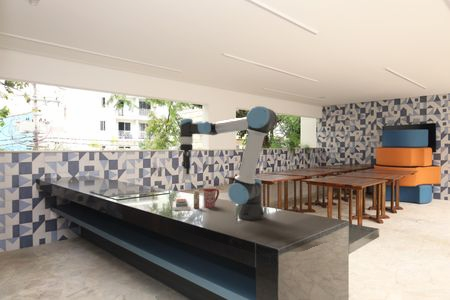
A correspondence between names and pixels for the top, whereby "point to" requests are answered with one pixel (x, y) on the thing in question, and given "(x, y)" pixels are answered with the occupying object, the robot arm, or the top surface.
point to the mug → (210, 196)
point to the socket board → (181, 204)
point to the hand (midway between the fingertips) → (186, 178)
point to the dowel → (196, 199)
